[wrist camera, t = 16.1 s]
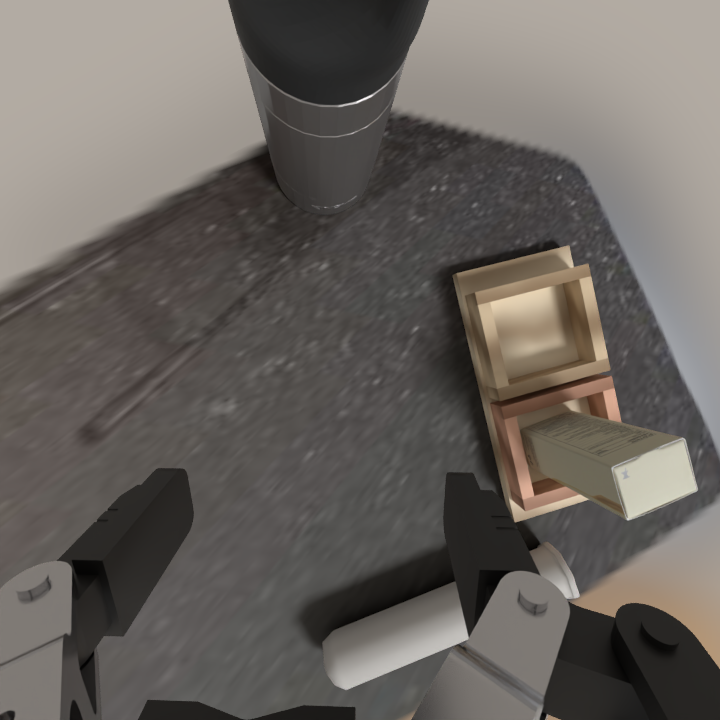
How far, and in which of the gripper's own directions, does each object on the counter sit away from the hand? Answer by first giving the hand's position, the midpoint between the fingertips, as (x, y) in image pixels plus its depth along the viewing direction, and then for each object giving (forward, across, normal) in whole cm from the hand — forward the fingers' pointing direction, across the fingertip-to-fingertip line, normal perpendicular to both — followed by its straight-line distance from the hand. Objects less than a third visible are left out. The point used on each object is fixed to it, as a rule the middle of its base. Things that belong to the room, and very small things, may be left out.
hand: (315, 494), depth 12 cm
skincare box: (+26, -20, +12) cm, 35 cm away
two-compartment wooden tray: (+28, -19, +7) cm, 35 cm away
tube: (+20, -8, +27) cm, 34 cm away
